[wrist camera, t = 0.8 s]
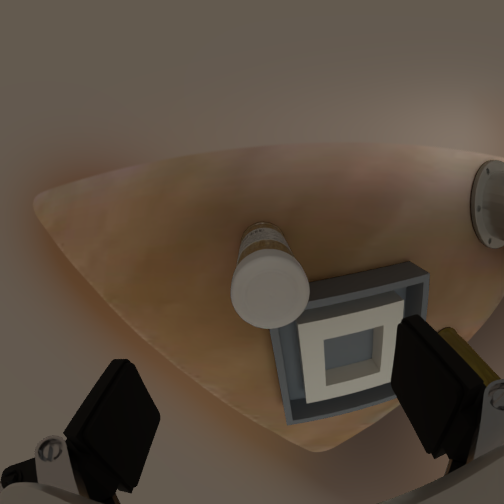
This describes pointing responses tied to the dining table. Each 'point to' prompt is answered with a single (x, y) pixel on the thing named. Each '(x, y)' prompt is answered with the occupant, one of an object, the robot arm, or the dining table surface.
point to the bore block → (343, 323)
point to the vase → (469, 355)
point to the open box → (345, 339)
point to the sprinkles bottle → (268, 279)
